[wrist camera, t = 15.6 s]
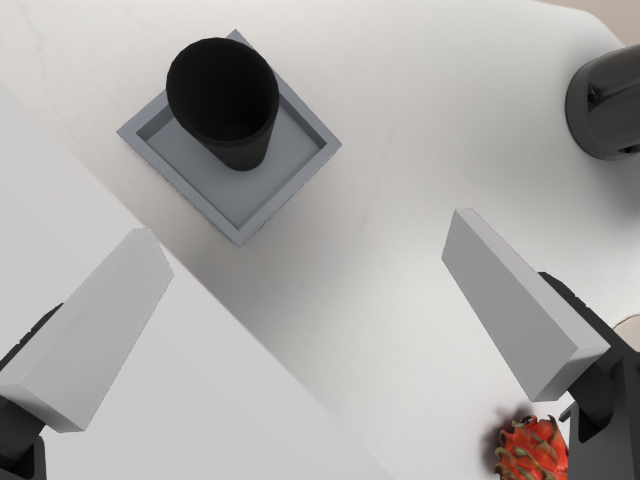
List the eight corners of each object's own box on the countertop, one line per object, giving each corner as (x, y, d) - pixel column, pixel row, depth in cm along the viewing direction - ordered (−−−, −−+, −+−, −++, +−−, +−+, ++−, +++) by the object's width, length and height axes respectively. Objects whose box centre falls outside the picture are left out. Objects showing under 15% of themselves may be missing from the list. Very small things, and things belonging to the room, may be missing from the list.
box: (239, 51, 32) (235, 28, 28) (334, 153, 34) (342, 144, 31) (133, 144, 30) (115, 132, 26) (241, 245, 32) (238, 247, 29)
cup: (198, 170, 30) (153, 128, 18) (214, 103, 30) (179, 20, 19) (267, 188, 32) (266, 159, 20) (282, 124, 32) (290, 58, 20)
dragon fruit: (472, 469, 40) (504, 393, 43) (539, 519, 36) (569, 432, 39) (489, 490, 33) (526, 396, 36) (575, 556, 29) (608, 445, 32)
